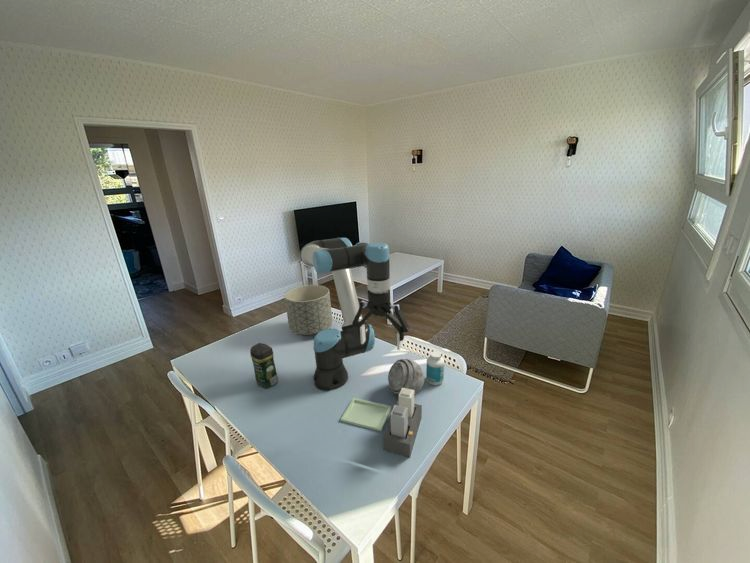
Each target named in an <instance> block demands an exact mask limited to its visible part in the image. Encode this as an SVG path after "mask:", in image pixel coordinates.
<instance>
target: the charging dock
mask: <svg viewBox="0 0 750 563" xmlns="http://www.w3.org/2000/svg"><path fill="white" fill-rule="evenodd" d="M395 405H397V406H402V407H406V408H408V435H407V438H406V439H403V438H400V437H396V436H392V435H391V417H390V419H389V421H388V424H387V425H386V429H385V431H384V433H383V436H382V449H383V451H386V452H388V453H393V454H396V455H400V456H403V457H407V458H411V456H412V453H413V449H414V447H415V446H414V445H415V442H416V439H417V436H418V432H419V430H420V429H419V428H420V425H421V421H422V418H423V417H422V413H423V412H422V410H423V409H422V407H423V405H422V404H417V403H415V395H414V390H412V389H407V388H402V389H401V391H400V394H399V395H398V399H397V401H396V404H395Z"/></svg>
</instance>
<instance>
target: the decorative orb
mask: <svg viewBox="0 0 750 563" xmlns="http://www.w3.org/2000/svg"><path fill="white" fill-rule="evenodd" d="M424 374H425V373H424V371H423V369H422V367H421V365H420V364H419V363H417V362H416V361H414V360H412V359H409V358H400V359H397V360H396V361H394V362H393V364H392V365H391V366H390V368H389V371H388V375H387V379H388V380H387V381H388V386H389V388H390V390H391V392H393V393H394V394H395V395H397V396H399V394H400V391H401V389H402V388H407V389H412V390H414V396H416V395H417V394H418V393H419V392H420V391H421V390H422V388H423V386H424V383H425V375H424Z"/></svg>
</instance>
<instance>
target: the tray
mask: <svg viewBox="0 0 750 563" xmlns="http://www.w3.org/2000/svg"><path fill="white" fill-rule="evenodd" d="M392 409H393V407H392V405H388V404H385V403H380V402H375V401H370V400H366V399H363V398H357V397H353V398H352V399H351V400H350V402H349V404H348V406H347V407H346V410H345V411H344V412H343V414H342V416H341V418H340V422H343V423H347V424H349V425H355V426H357V427H358V426H359V427H361V428H367V429H370V430H373V431H374V430H375V431H378V432H381V433H382V431H383V429H384V427H385V425H386V422H387V420H388V417H389V415H390V414H391V412H392Z"/></svg>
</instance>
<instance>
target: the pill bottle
mask: <svg viewBox="0 0 750 563" xmlns="http://www.w3.org/2000/svg"><path fill="white" fill-rule="evenodd" d="M425 373H426V374H425V375H426V377H425V378H426V382H427V383H428V384H429V385H432V386H440V385H442V384H443V382H444V376H445V359H444V358H443V357H442V353H441V352H440V351H438V350H437V351H435V350H433V351H431V352H430V353H429V356H428V357H427V358H426V372H425Z"/></svg>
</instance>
